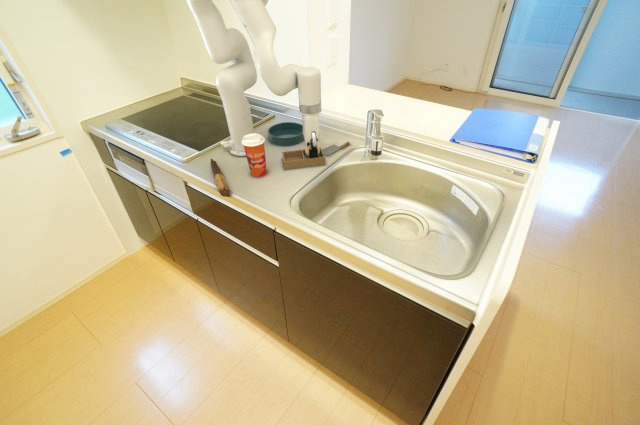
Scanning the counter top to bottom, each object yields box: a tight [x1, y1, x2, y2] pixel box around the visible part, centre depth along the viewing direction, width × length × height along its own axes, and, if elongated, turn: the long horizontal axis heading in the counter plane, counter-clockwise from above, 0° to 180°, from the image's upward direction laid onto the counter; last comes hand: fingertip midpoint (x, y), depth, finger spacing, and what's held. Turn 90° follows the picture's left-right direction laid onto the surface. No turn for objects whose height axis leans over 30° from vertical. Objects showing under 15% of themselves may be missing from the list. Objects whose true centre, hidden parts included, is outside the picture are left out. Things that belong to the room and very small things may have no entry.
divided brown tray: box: [281, 147, 326, 171], centre depth 119 cm, size 15×8×3 cm, turn 100°
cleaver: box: [322, 141, 350, 157], centre depth 128 cm, size 13×1×5 cm
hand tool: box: [210, 158, 231, 198], centre depth 111 cm, size 4×26×3 cm, turn 25°
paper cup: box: [242, 132, 267, 178], centre depth 110 cm, size 8×8×14 cm
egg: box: [304, 145, 321, 156], centre depth 118 cm, size 6×4×4 cm
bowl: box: [267, 121, 305, 147], centre depth 136 cm, size 16×16×4 cm
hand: (312, 154), depth 119 cm, fingers closed on egg, 4 cm apart
